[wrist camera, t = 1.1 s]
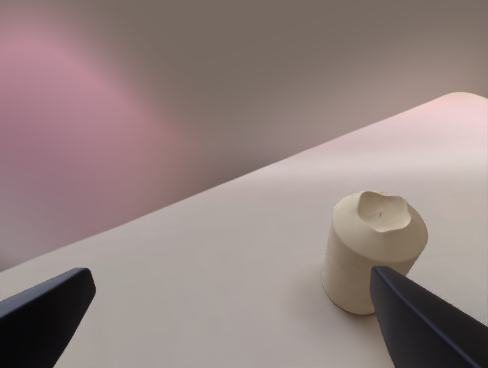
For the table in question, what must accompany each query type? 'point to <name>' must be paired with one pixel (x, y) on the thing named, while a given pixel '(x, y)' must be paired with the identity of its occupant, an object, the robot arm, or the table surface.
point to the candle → (369, 245)
